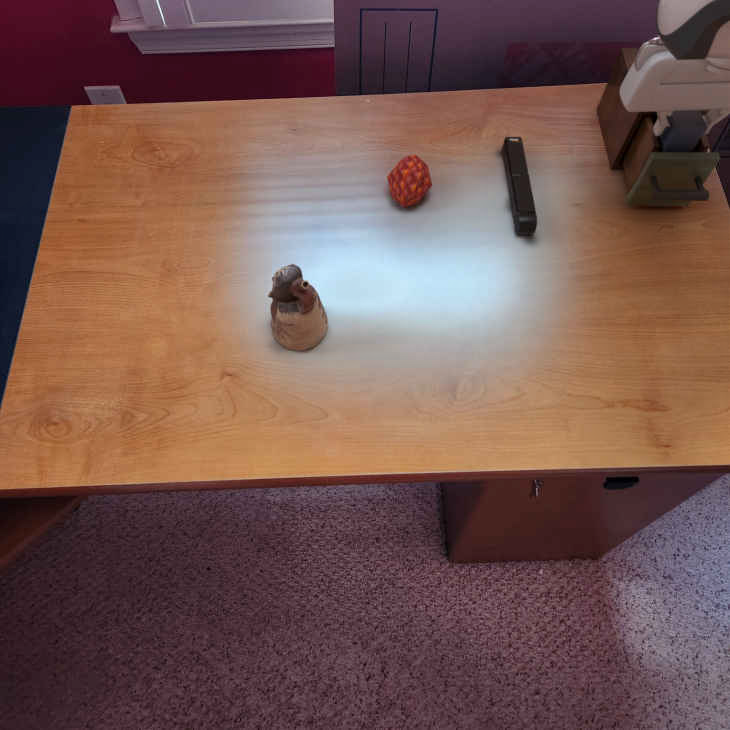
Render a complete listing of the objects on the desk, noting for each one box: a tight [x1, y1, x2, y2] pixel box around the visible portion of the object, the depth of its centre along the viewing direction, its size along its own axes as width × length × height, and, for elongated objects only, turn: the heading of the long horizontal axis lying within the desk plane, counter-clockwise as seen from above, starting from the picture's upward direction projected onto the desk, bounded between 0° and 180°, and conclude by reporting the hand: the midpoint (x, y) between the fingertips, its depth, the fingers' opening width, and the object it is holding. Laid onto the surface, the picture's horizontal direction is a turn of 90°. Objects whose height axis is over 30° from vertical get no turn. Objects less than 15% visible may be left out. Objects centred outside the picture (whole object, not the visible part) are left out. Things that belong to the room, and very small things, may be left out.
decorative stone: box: [386, 154, 433, 208], centre depth 84 cm, size 6×7×8 cm
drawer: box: [621, 115, 721, 207], centre depth 82 cm, size 16×9×9 cm, turn 178°
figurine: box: [267, 263, 329, 351], centre depth 70 cm, size 7×7×12 cm
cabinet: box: [596, 47, 711, 171], centre depth 87 cm, size 14×10×11 cm
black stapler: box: [501, 136, 538, 235], centre depth 85 cm, size 18×3×3 cm, turn 0°
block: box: [657, 110, 707, 152], centre depth 77 cm, size 4×4×4 cm
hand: (679, 132), depth 78 cm, fingers closed on block, 4 cm apart
